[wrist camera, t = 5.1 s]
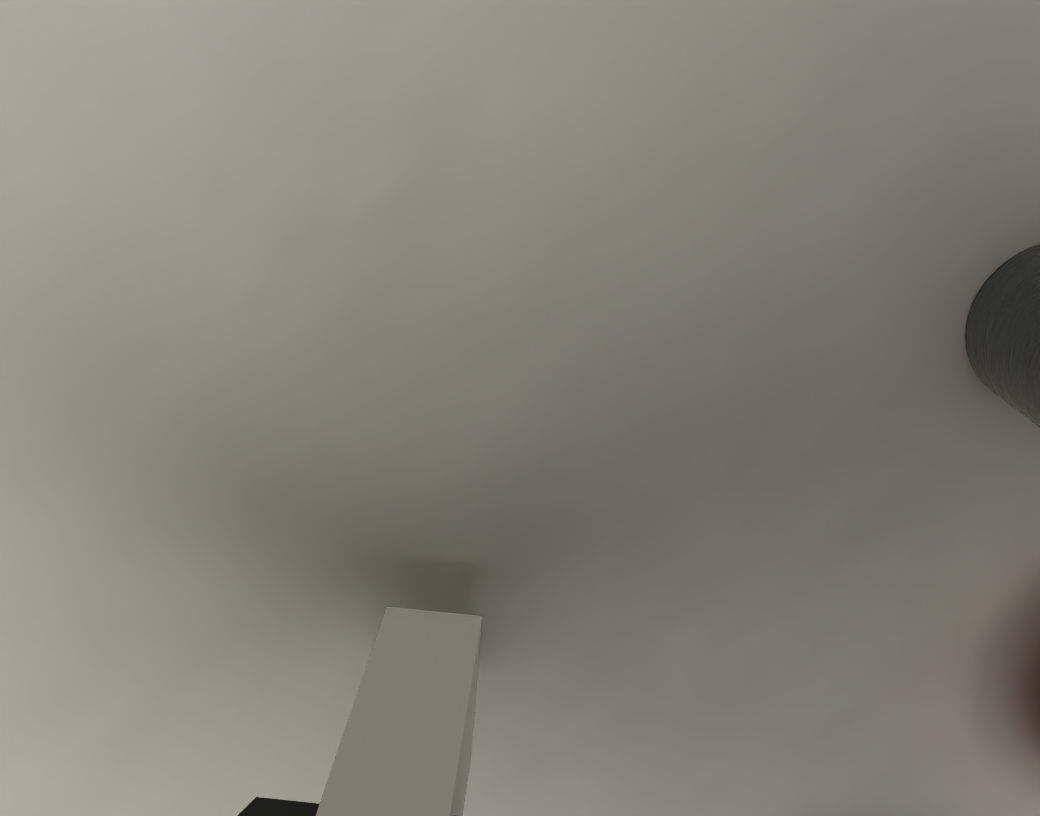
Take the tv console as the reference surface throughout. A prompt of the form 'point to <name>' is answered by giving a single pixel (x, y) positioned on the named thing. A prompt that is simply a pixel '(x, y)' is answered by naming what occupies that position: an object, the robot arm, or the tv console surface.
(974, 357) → the post
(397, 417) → the tv console surface
